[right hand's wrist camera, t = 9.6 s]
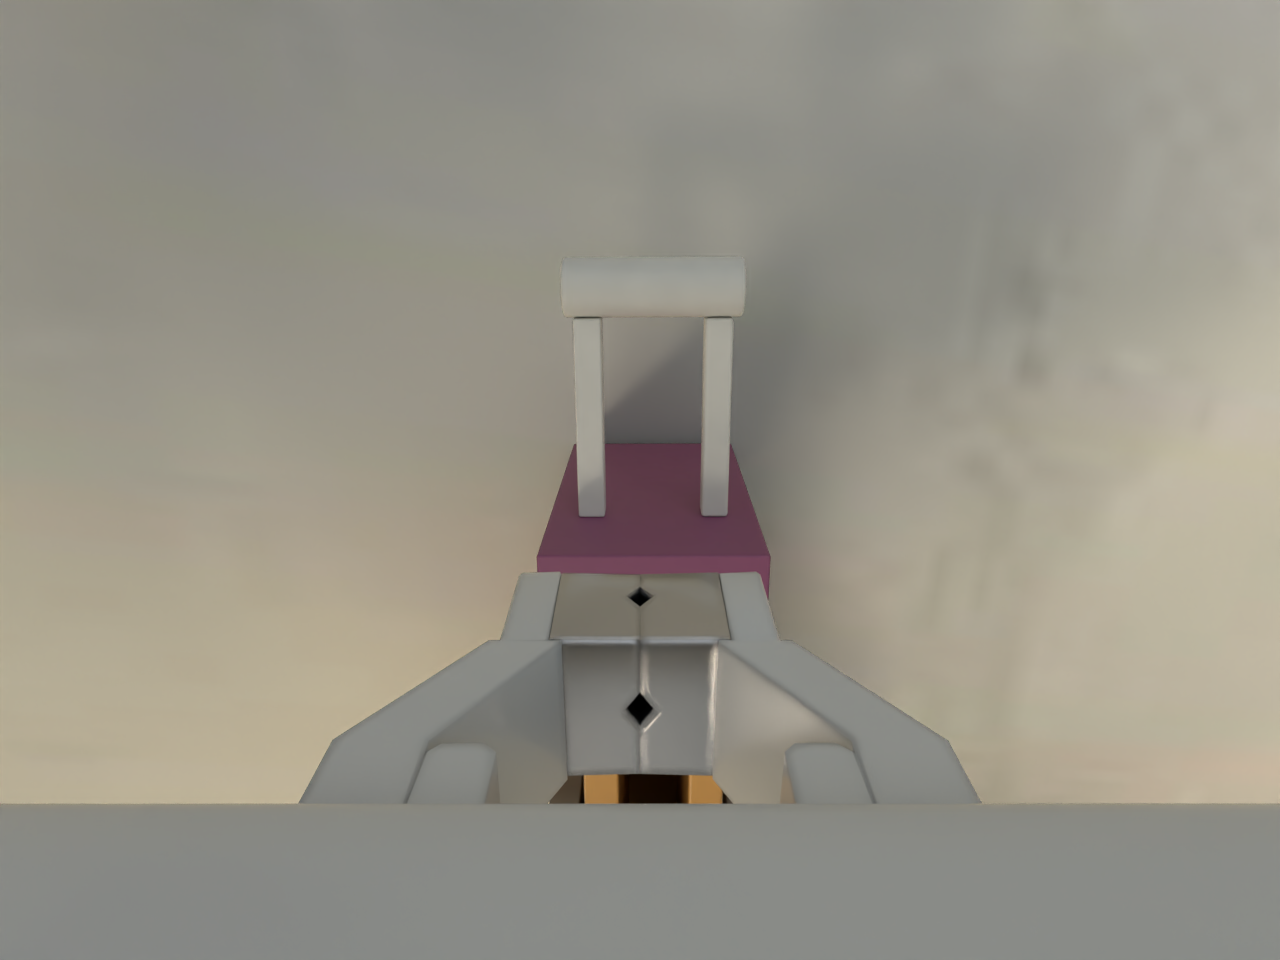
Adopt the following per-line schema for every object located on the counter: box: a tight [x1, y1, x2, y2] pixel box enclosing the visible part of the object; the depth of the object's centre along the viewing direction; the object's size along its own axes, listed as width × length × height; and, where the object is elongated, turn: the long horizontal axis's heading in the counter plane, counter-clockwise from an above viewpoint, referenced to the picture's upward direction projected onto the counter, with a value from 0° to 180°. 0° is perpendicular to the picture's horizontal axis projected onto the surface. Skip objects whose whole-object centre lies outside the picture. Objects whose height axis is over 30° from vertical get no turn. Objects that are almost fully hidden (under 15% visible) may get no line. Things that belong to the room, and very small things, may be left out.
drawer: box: [537, 256, 771, 804], centre depth 21 cm, size 21×5×8 cm, turn 0°
